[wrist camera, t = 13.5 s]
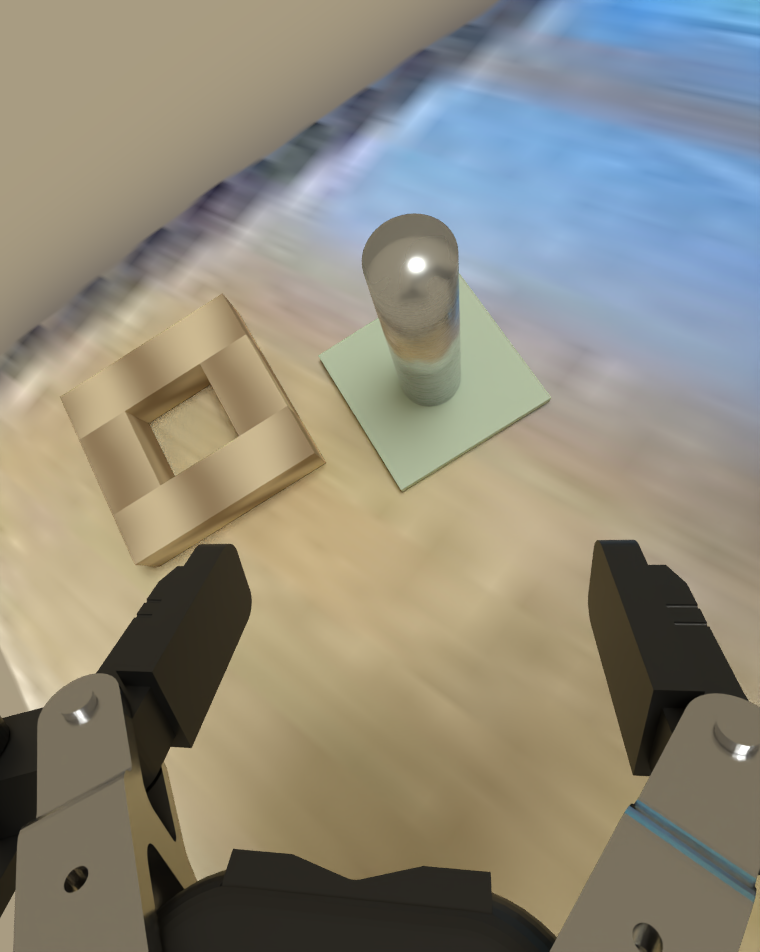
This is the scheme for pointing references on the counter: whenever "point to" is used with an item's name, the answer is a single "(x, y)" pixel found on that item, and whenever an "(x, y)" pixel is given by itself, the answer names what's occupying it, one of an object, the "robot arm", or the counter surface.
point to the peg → (418, 303)
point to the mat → (443, 426)
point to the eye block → (216, 476)
